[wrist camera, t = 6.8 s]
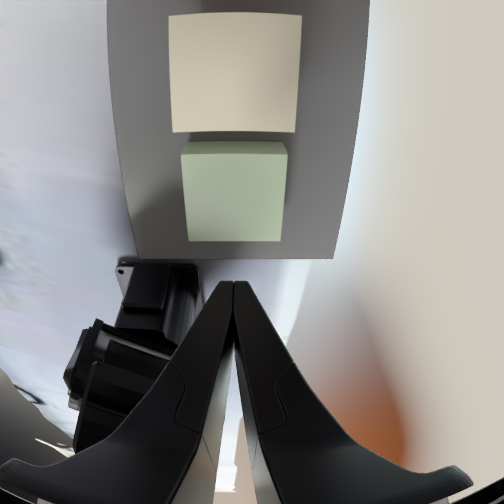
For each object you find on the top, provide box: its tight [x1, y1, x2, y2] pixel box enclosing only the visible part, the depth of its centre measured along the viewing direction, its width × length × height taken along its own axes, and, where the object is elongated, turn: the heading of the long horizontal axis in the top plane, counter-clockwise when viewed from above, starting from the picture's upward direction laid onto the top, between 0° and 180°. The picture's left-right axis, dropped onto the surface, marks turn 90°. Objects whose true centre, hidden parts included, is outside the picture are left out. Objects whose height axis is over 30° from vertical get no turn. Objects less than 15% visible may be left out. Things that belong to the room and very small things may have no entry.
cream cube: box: [169, 12, 302, 133], centre depth 12 cm, size 5×5×5 cm
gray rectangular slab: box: [107, 0, 370, 259], centre depth 14 cm, size 22×12×3 cm, turn 179°
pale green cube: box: [181, 141, 288, 241], centre depth 16 cm, size 5×5×5 cm
